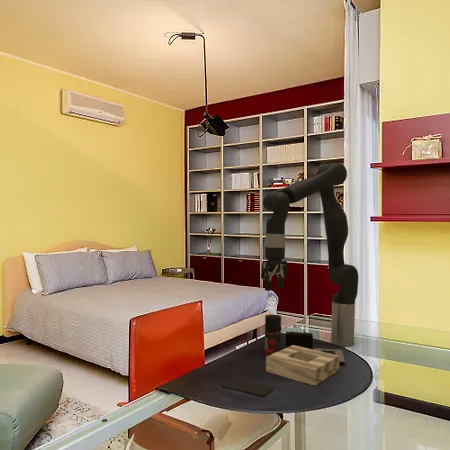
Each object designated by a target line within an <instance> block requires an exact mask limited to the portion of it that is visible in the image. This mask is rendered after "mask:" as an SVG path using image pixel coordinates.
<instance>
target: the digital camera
mask: <svg viewBox="0 0 450 450" xmlns="http://www.w3.org/2000/svg"><path fill="white" fill-rule="evenodd" d="M313 342H314V335H313V333H312V332H301V331H300V332H299V331H298V332H297V331H286V332H285V348H287V347H290V346H292V345H295V346H299V347H304V348H308V349H312V350H314V347H313V346H314V345H313V344H314V343H313Z"/></svg>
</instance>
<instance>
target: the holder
mask: <svg viewBox="0 0 450 450" xmlns="http://www.w3.org/2000/svg"><path fill="white" fill-rule="evenodd" d="M339 371H340V363H339V356H338V355H334V354H329V353H325V352H321V351H317V350H314V349H313V350H312V349H308V348H304V347H299V346H295V345H292V346H290V347H287V348H286V347H285V348H284V349H280V351H278V352H276V353H274V354H271V355H269V356H267V357H265V372H266V373H269V374H272V375H275V376H280V377H283V378H286V379H290V380H294V381H296V382H300V383H303V384H306V383H307V385H310V386H313V385H314V386H313V387H315V385H316V386H317V385H319V384H321V383H322V382H323V381H325V380H327V379H328V378H329V377H331V376H332V375H335V374H336V373H337V372H339ZM321 381H322V382H321ZM318 383H319V384H318Z"/></svg>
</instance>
